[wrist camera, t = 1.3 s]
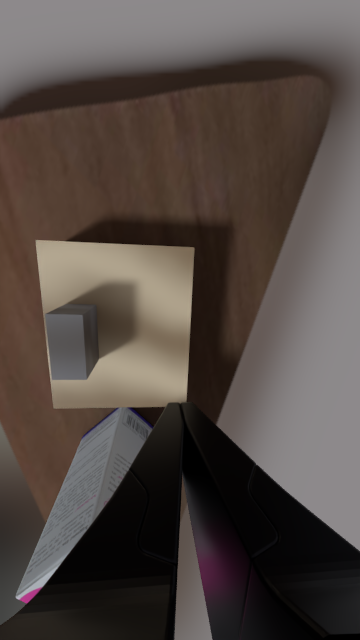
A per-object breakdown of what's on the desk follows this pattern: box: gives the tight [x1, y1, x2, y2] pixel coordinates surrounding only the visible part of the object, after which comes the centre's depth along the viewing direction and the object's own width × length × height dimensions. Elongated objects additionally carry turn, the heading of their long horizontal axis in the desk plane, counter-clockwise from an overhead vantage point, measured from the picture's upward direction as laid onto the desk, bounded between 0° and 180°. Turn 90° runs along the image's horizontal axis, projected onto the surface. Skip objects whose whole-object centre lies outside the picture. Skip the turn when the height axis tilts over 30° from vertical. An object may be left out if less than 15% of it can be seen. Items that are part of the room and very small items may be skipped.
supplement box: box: [16, 407, 153, 603], centre depth 18 cm, size 6×6×12 cm
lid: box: [36, 240, 194, 409], centre depth 16 cm, size 12×10×4 cm
